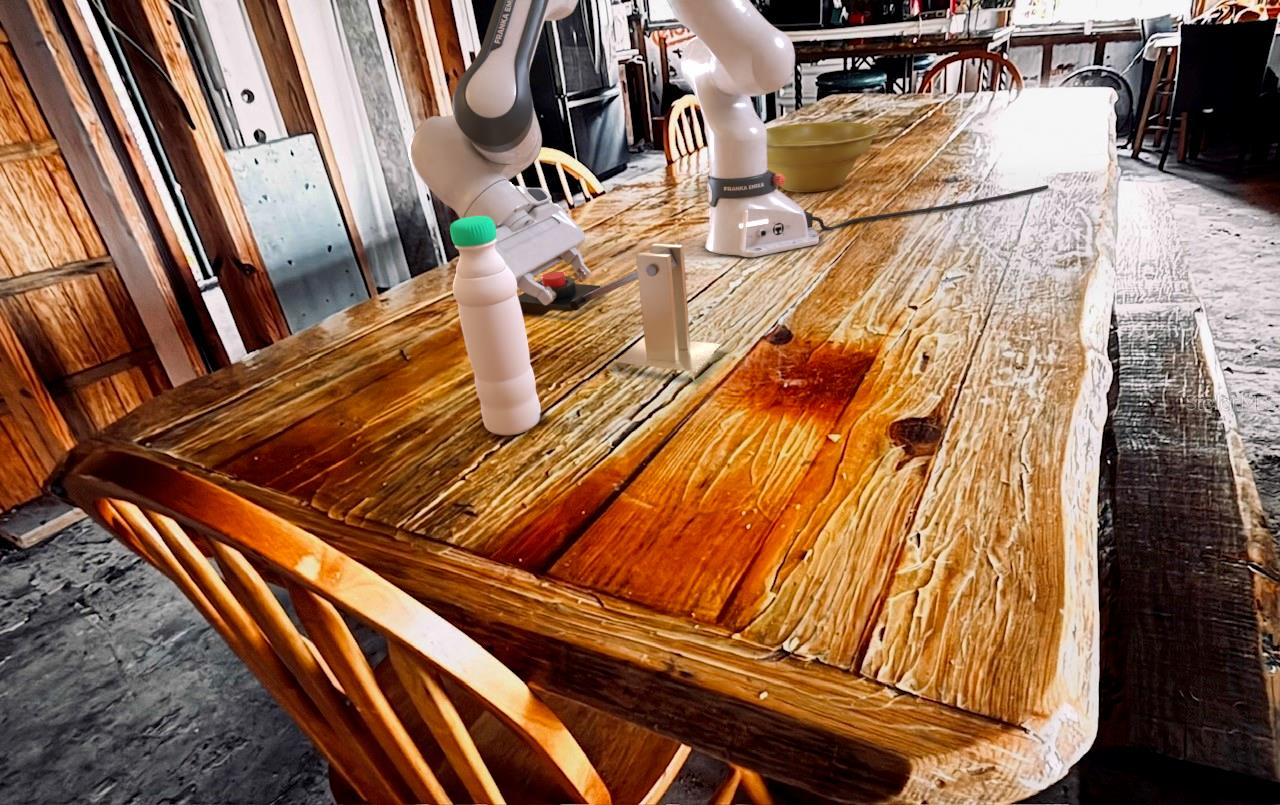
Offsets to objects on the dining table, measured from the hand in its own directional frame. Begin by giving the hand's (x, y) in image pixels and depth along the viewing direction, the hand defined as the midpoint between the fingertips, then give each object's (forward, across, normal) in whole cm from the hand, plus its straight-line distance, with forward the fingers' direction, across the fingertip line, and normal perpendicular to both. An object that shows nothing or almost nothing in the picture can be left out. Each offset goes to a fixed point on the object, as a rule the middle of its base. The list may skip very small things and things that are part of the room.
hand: (569, 289), depth 99 cm
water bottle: (+9, -21, +4) cm, 23 cm away
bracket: (+17, 0, -4) cm, 17 cm away
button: (-6, +16, +14) cm, 22 cm away
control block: (-3, +16, +16) cm, 23 cm away
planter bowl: (+11, +106, +2) cm, 106 cm away
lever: (+6, 0, -7) cm, 9 cm away
